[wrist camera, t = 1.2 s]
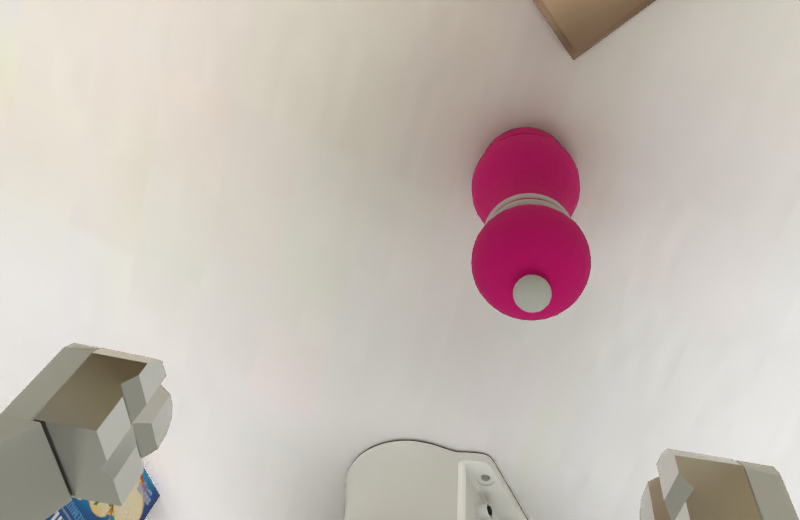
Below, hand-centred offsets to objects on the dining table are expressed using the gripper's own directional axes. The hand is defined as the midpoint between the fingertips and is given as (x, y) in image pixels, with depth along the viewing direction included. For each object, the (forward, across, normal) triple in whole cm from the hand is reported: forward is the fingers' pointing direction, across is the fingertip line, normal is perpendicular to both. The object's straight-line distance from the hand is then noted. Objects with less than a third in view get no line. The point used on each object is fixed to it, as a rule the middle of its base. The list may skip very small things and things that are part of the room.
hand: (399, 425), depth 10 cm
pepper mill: (+36, +4, -12) cm, 38 cm away
